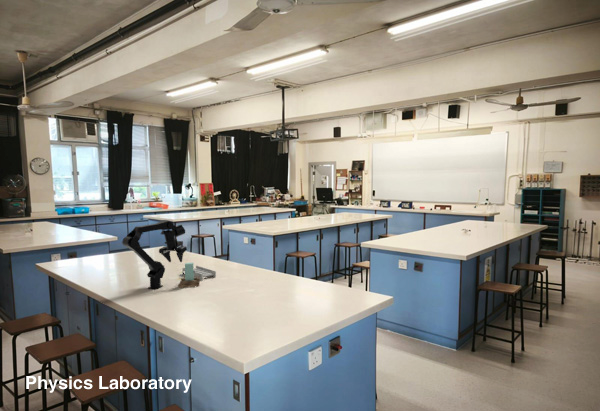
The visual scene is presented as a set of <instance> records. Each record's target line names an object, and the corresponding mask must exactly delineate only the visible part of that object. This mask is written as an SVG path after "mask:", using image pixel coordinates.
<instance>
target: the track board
mask: <svg viewBox="0 0 600 411" xmlns="http://www.w3.org/2000/svg"><path fill="white" fill-rule="evenodd" d="M200 281H201V280H199V276H197V277H195V278H194V280H189V281H185V277H182V278H181V279H180V281H179V284H178V288H179V289H181V287H182V288H192V287H193V286H196V287H200ZM193 288H194V287H193Z"/></svg>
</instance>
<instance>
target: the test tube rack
mask: <svg viewBox="0 0 600 411" xmlns="http://www.w3.org/2000/svg"><path fill="white" fill-rule="evenodd" d="M183 271H185V267H182V272H183ZM194 271H195V273H194V278H195V277H197V276H199V281H201V280H202V281H203V278H204V277H212V276H213V278H216V277H217V271H216V270H213V269H209V268H206V267H203V266H199V265H195V268H194Z"/></svg>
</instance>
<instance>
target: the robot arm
mask: <svg viewBox="0 0 600 411" xmlns="http://www.w3.org/2000/svg"><path fill="white" fill-rule="evenodd" d="M158 230H161V232H160V235H161V236H162V235H163V236H164V239H165V242H164V244H165V245H166V246H162V247H161V248H159V249H158V253H159V254H161V255H162V256H163V257H164V258H165V259H166V260H167V261H168V263H171V262H172V259H171V254H170V253H171V252H175V253H176V254H175V255H176V256H177V258H178V260H179V262H180V263H183V257H184V253H185V252H186V251H188V248H187V246H186V245H184V241H183V240H178V239H177V237H180V236H183V235H185V234H186V229H185V227H184V226H183V224H178V225H176V224H174V222H173V221H172V220H167V219H162V220H160V221H158V222H156V223H151V224H145V225H140V226H138V225H137V226H135V227H134V228H133V229H132V230H131V231H130V232H128V234H126V236H124V238H123V239H122V242H121V244H122V246H124V247H126V248H127V249H129V250H131V251H133V252H134V253H135V255H137V256H138V257H139V258H140V259H141V260H142V261H143V262H144V263H145V264H146V265H147V266H148V268H149V271H148V272H147V274H146V275H147V278H149V286H148V287H147V289H149V290H150V289H151V290H158V289H160V288H162V287H164V285H162V284H161V283H162V280H161V279H163V276H164V273H165V271H166V268H165V265H163V264H162V262H161V261H158V260H154V259H153V258H152V257H151V256H150V255H149V254H148V253H147V252H146V250H144V249H143V248H142V246H141V244H140V242H139V240H140V239H141V236H142V234H144V233H148V232H153V231H158Z"/></svg>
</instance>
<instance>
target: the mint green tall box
mask: <svg viewBox="0 0 600 411" xmlns="http://www.w3.org/2000/svg"><path fill="white" fill-rule="evenodd" d="M194 266H195V265H194V262H185V263H184V268H185V275H184V278H185V281H189V280H194V273H195V271H194V269H195V268H194Z"/></svg>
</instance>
